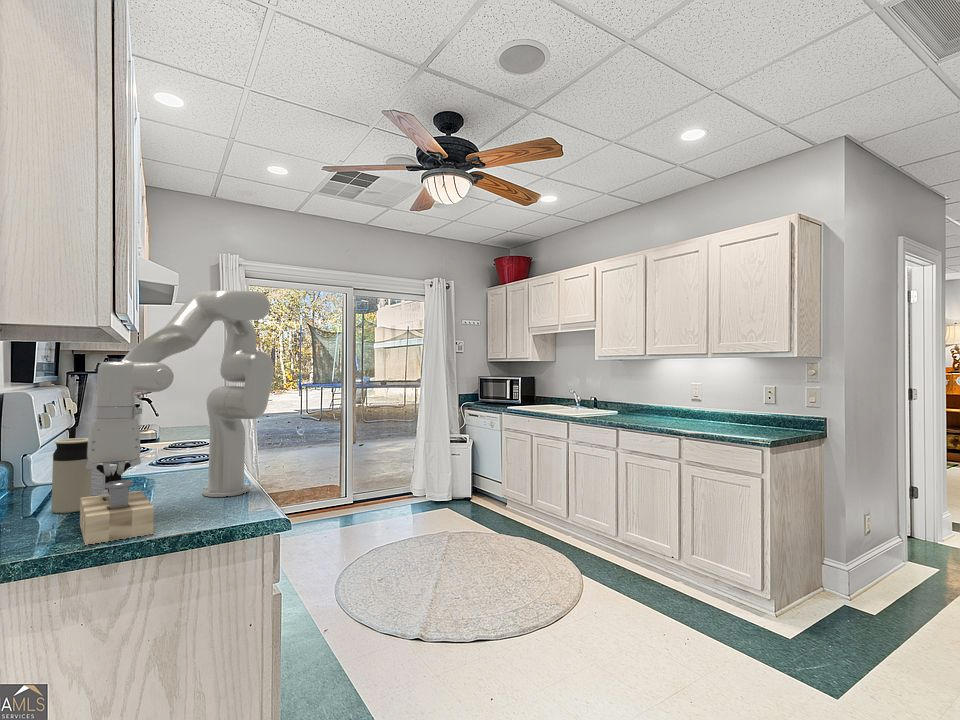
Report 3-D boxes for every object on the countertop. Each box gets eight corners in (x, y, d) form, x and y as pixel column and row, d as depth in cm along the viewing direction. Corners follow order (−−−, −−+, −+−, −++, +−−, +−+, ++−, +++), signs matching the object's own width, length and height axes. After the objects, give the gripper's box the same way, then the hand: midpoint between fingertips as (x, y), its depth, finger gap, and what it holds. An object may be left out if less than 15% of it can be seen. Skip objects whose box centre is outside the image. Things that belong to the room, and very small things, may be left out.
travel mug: (87, 511, 131) (89, 440, 132) (47, 515, 128) (49, 442, 128) (93, 504, 138) (95, 437, 139) (55, 507, 135) (57, 438, 135)
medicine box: (118, 494, 150) (119, 464, 150) (103, 497, 146) (104, 466, 146) (96, 492, 152) (97, 462, 152) (81, 495, 148) (82, 465, 148)
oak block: (79, 523, 121) (80, 497, 121) (140, 514, 129) (140, 490, 129) (84, 545, 106) (85, 516, 106) (153, 534, 114) (153, 507, 114)
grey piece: (102, 511, 114) (103, 482, 114) (130, 507, 118) (131, 479, 118) (104, 516, 110) (105, 486, 110) (133, 512, 114) (134, 483, 114)
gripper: (150, 411, 130) (147, 485, 129) (74, 413, 120) (71, 493, 119) (155, 413, 124) (152, 490, 123) (76, 416, 114) (72, 499, 114)
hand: (112, 491), depth 121 cm, fingers closed
